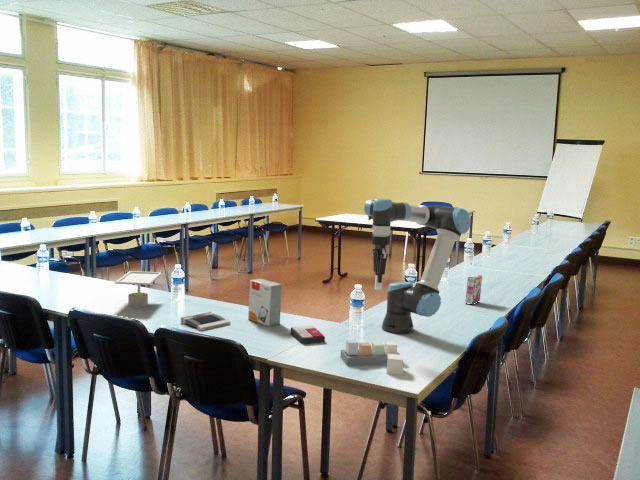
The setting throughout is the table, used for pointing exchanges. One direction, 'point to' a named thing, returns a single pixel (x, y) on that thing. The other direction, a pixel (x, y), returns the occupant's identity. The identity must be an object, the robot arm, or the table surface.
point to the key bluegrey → (351, 347)
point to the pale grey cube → (394, 364)
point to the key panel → (364, 359)
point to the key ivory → (390, 348)
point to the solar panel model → (138, 279)
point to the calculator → (307, 334)
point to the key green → (377, 348)
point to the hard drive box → (264, 302)
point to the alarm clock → (205, 321)
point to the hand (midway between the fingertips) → (378, 289)
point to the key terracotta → (364, 349)
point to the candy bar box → (473, 289)
